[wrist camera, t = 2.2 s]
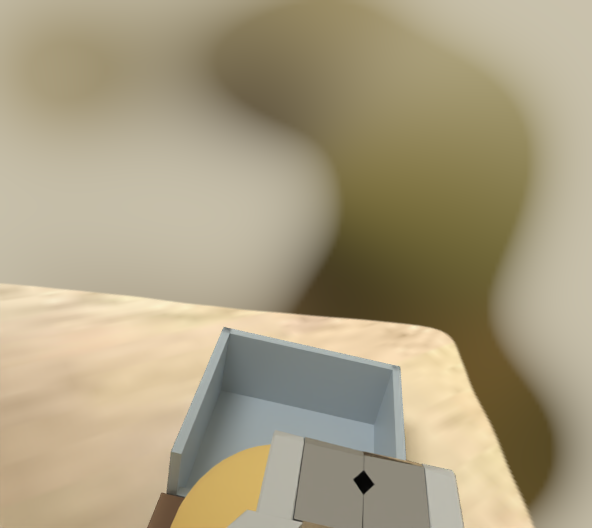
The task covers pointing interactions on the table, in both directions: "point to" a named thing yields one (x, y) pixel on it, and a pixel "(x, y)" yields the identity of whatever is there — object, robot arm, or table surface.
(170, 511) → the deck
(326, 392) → the tray
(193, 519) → the ball
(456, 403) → the table surface
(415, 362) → the table surface
